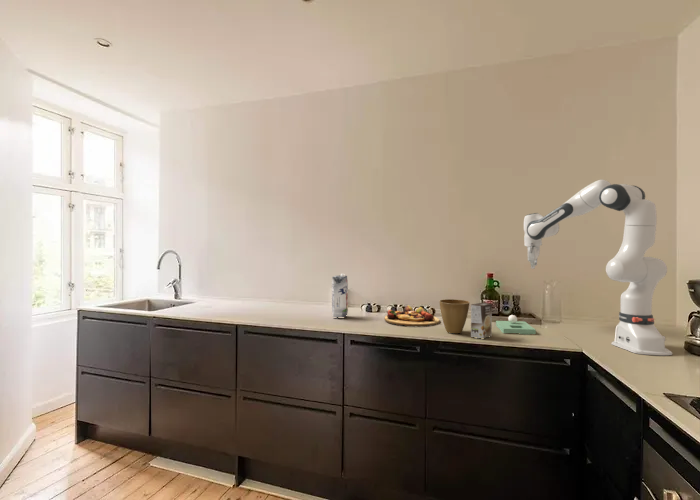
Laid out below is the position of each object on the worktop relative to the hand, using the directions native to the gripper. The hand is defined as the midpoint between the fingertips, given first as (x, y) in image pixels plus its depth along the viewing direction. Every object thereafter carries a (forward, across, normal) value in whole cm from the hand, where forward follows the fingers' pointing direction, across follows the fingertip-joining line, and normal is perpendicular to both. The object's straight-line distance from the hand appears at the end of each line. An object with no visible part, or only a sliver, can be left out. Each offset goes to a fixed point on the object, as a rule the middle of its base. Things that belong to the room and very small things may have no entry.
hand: (534, 266), depth 217 cm
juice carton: (+24, -43, +106) cm, 116 cm away
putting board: (+29, -25, +8) cm, 39 cm away
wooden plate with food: (+27, -31, +63) cm, 75 cm away
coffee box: (+26, -50, +19) cm, 59 cm away
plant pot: (+26, -47, +33) cm, 63 cm away
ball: (+25, -21, +9) cm, 33 cm away
